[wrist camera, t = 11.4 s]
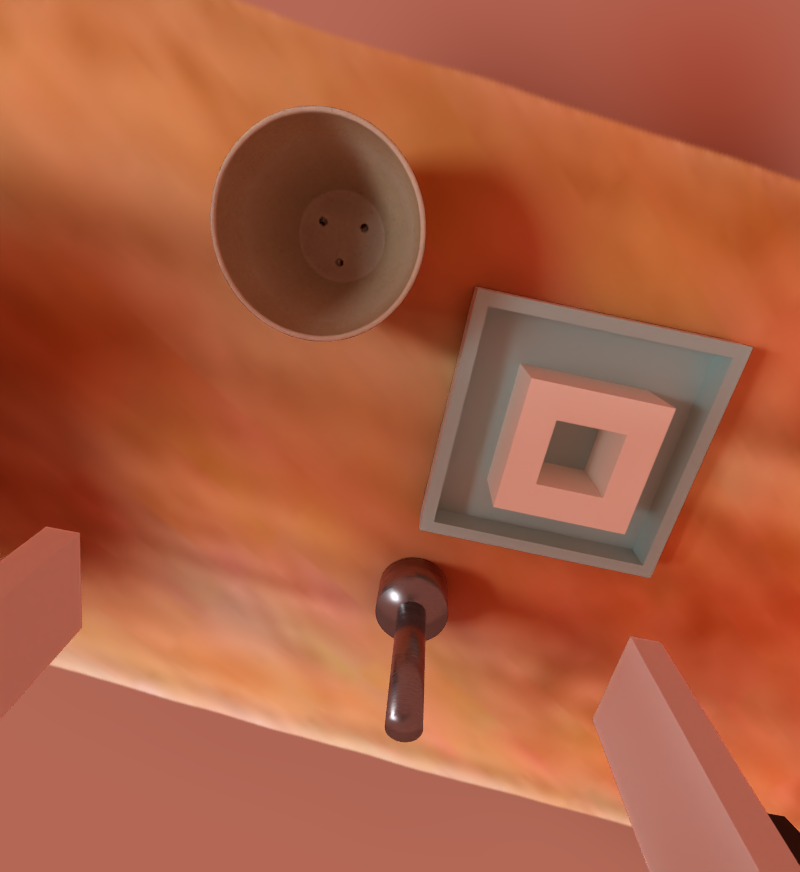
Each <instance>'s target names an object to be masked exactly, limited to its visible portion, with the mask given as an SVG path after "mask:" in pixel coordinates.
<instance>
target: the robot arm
mask: <svg viewBox="0 0 800 872" xmlns="http://www.w3.org/2000/svg"><path fill="white" fill-rule="evenodd" d="M81 628H82V604H81V562H80V533H79V532H74V531H68V530H63V529H58V528H52V527H47V526H46V527H45V528H43V529H42V530H41V531H39V532H38V533H37V534H35V535H34V536H33V537H31V538H30V539H29V540H27V541H26V542H25V543H23V544H22V545H21V546H19V547H18V548H17V549H15V550H14V551H13V552H11V553H10V554H9V555H7V556H6V557H5V558H3V559H2V560H1V561H0V720H1V718H2V717H3V716H4V715H5V714H6V713H7V712H8V711H9V709H10V708H11V707H12V706H13V705H14V704H15V702H16V701H17V700H18V699H19V698H20V697H21V696H22V695H23V694H24V692H25V691H26V690H27V689H28V688H29V687H30V686H31V684H32V683H33V682H34V681H35V680H36V679H37V678H38V677H39V675H40V674H41V673H42V672H43V671H44V670H45V669H46V668H47V666H48V665H49V664H50V663H51V662H52V661H53V660H54V658H55V657H56V656H57V655H58V654H59V653H60V652H61V651H62V649H63V648H64V647H65V646H66V645H67V644H68V643H69V641H70V640H71V639H72V638H73V637H74V636H75V635H76V634H77V632H78V631H79V630H80V629H81ZM592 720H593V722H594V725H595V728H596V730H597V733H598V736H599V738H600V741H601V744H602V746H603V749H604V752H605V754H606V757H607V760H608V763H609V765H610V768H611V771H612V773H613V776H614V779H615V781H616V784H617V787H618V789H619V792H620V795H621V797H622V800H623V803H624V806H625V808H626V811H627V814H628V816H629V819H630V822H631V824H632V827H633V830H634V832H635V835H636V838H637V840H638V843H639V846H640V849H641V851H642V854H643V857H644V859H645V862H646V864H647V867H648V870H649V872H800V832H799V831H798V830H797V829H796V828H795V827H794V826H793V825H792V824H791V823H790V822H789V821H788V820H787V819H786V818H785V817H784V816H779V815H773V814H767V812H766V811H765V809H764V807H763V806H762V804H761V803H760V801H759V799H758V798H757V796H756V794H755V793H754V791H753V790H752V788H751V786H750V785H749V783H748V782H747V780H746V778H745V777H744V775H743V773H742V772H741V770H740V769H739V767H738V765H737V764H736V762H735V761H734V759H733V757H732V756H731V754H730V752H729V751H728V749H727V748H726V746H725V744H724V743H723V741H722V740H721V738H720V736H719V735H718V733H717V731H716V730H715V728H714V727H713V725H712V723H711V722H710V720H709V719H708V717H707V715H706V714H705V712H704V710H703V709H702V707H701V706H700V704H699V702H698V701H697V699H696V698H695V696H694V694H693V693H692V691H691V690H690V688H689V686H688V685H687V683H686V681H685V680H684V678H683V677H682V675H681V673H680V672H679V670H678V669H677V667H676V665H675V664H674V662H673V660H672V659H671V657H670V656H669V654H668V652H667V651H666V649H665V648H664V646H663V644H662V643H661V642H660V641H654V640H649V639H644V638H638V637H633V636H630V638H629V640H628V642H627V644H626V646H625V649H624V651H623V653H622V655H621V657H620V660H619V662H618V664H617V666H616V668H615V671H614V673H613V675H612V677H611V680H610V682H609V684H608V686H607V688H606V691H605V693H604V695H603V697H602V699H601V702H600V704H599V706H598V708H597V710H596V713H595V715H594V717H593V719H592Z"/></svg>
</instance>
